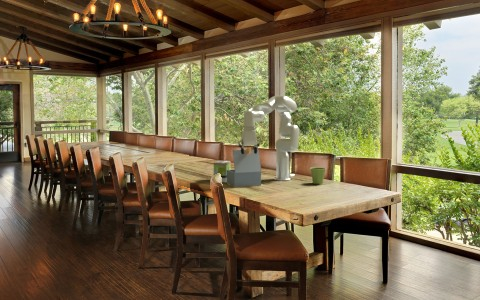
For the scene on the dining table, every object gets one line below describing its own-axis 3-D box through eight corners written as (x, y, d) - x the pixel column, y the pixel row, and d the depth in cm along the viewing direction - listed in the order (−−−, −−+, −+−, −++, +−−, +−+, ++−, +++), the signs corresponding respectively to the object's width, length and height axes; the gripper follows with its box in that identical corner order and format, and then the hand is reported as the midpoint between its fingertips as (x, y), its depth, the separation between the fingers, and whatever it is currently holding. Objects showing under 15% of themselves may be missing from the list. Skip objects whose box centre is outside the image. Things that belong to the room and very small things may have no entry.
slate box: (251, 182, 314) (252, 168, 313) (260, 185, 299) (261, 171, 298) (226, 183, 307) (226, 170, 306) (234, 187, 292) (234, 173, 291)
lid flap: (258, 149, 301) (262, 147, 294) (260, 171, 298) (265, 169, 291) (232, 150, 294) (236, 147, 287) (234, 173, 291) (238, 170, 284)
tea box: (226, 182, 311) (226, 162, 309) (213, 182, 313) (213, 162, 311) (230, 179, 325) (230, 160, 324) (218, 179, 327) (218, 160, 326)
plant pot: (329, 183, 310) (329, 168, 309) (320, 185, 301) (320, 169, 300) (315, 181, 318) (315, 166, 317) (306, 183, 309) (306, 168, 308)
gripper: (258, 128, 297) (258, 152, 299) (235, 128, 291) (235, 153, 292) (262, 129, 290) (262, 153, 292) (239, 129, 284) (239, 154, 285)
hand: (249, 153), depth 292 cm, fingers open, 9 cm apart
